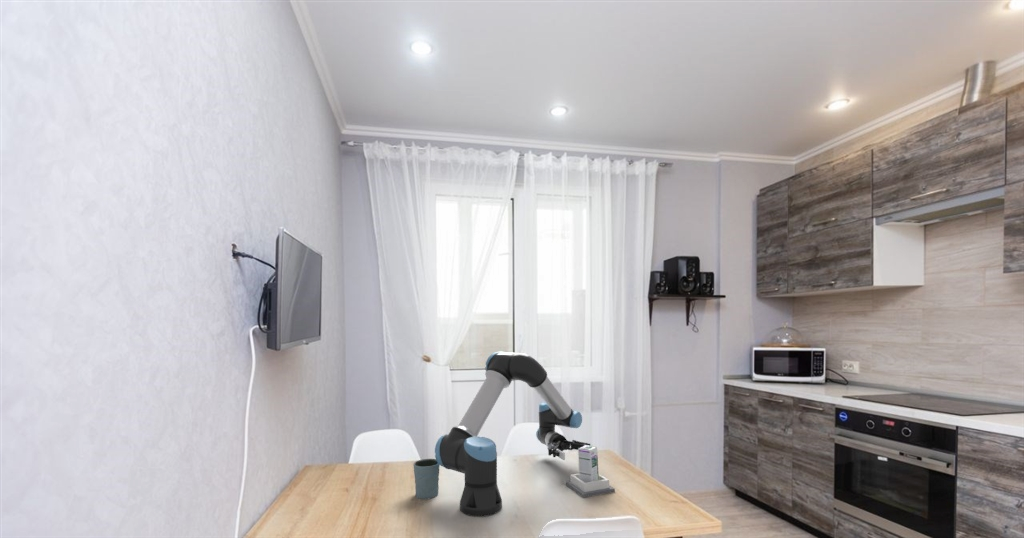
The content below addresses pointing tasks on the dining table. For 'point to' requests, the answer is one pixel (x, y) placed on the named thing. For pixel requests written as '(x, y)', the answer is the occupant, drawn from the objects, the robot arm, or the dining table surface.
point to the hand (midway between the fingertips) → (578, 454)
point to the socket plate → (589, 486)
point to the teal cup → (426, 478)
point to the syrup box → (588, 463)
